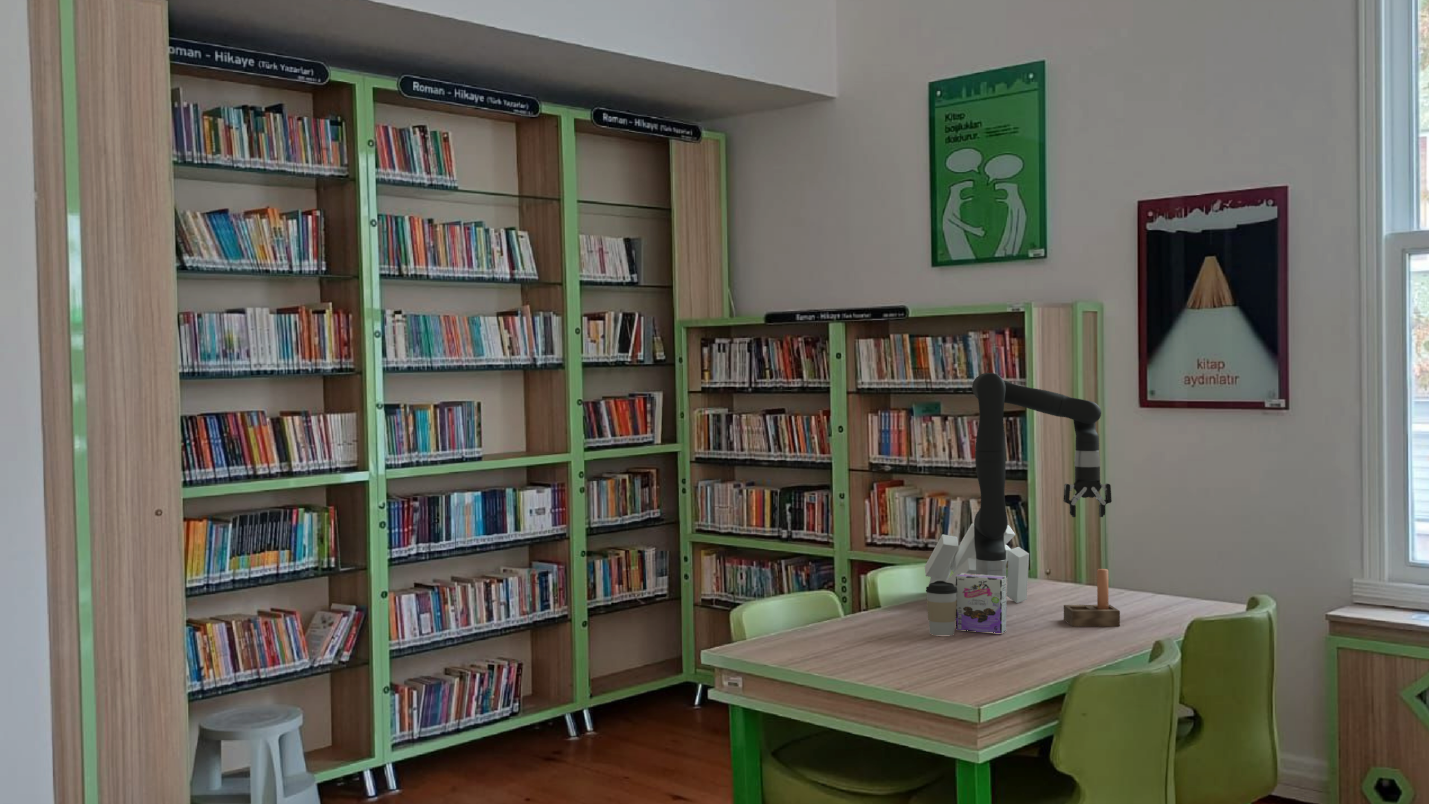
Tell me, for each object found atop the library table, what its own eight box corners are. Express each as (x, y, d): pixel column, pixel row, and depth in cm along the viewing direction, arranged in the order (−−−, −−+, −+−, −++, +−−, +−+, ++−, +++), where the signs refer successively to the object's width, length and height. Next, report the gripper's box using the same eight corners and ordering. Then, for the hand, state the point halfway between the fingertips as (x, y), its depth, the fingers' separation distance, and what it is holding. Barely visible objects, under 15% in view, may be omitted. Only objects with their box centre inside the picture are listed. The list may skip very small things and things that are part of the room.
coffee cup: (960, 637, 358) (959, 585, 358) (928, 637, 358) (928, 585, 358) (954, 630, 367) (954, 579, 367) (923, 631, 367) (923, 580, 367)
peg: (1099, 623, 375) (1098, 570, 375) (1096, 621, 378) (1095, 568, 378) (1109, 623, 375) (1109, 570, 374) (1106, 621, 378) (1106, 568, 378)
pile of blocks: (904, 617, 414) (922, 531, 397) (930, 570, 439) (948, 487, 422) (1008, 653, 403) (1031, 565, 386) (1028, 603, 427) (1050, 518, 410)
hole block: (1072, 626, 372) (1072, 611, 372) (1063, 619, 382) (1063, 605, 382) (1119, 626, 371) (1119, 610, 371) (1110, 619, 381) (1110, 604, 381)
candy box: (955, 631, 367) (954, 575, 367) (960, 627, 372) (960, 572, 372) (1001, 635, 361) (1001, 578, 360) (1007, 631, 366) (1006, 575, 365)
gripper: (1067, 466, 387) (1067, 518, 387) (1113, 465, 386) (1114, 518, 387) (1061, 464, 394) (1061, 515, 395) (1106, 464, 394) (1107, 515, 394)
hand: (1087, 517), depth 391 cm, fingers open, 8 cm apart
